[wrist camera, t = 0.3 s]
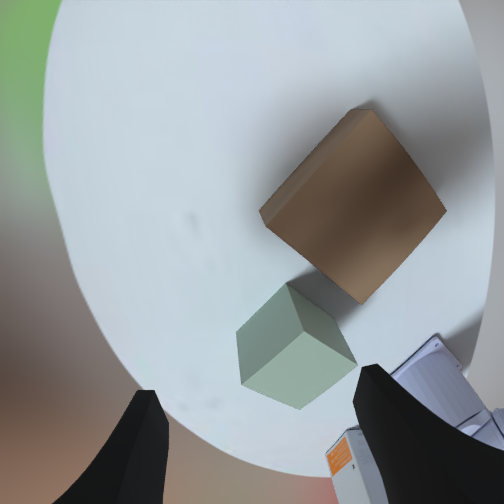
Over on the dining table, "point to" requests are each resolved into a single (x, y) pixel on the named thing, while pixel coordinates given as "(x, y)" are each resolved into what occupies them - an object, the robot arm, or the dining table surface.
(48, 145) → the dining table surface
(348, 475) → the skincare box
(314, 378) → the sage cube
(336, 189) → the walnut block
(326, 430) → the dining table surface
